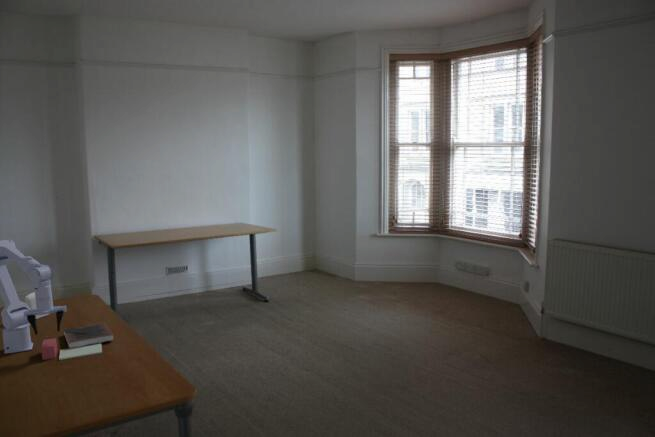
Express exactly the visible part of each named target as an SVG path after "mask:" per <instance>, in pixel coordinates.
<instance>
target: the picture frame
mask: <svg viewBox="0 0 655 437" xmlns="http://www.w3.org/2000/svg"><path fill="white" fill-rule="evenodd" d="M63 334H64V337H65V339H66V342H67V346H68V349H69V348H76V347H82V346H88V345H95V344H102V343H104V342H106V343H107V342H110V341H113V340H114V334H113V333H112V332H111V330H110V328H109V326H108V325H107V324H106V322H100V323H95V324H89V325H85V326H79V327H71V328H64V329H63Z"/></svg>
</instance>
